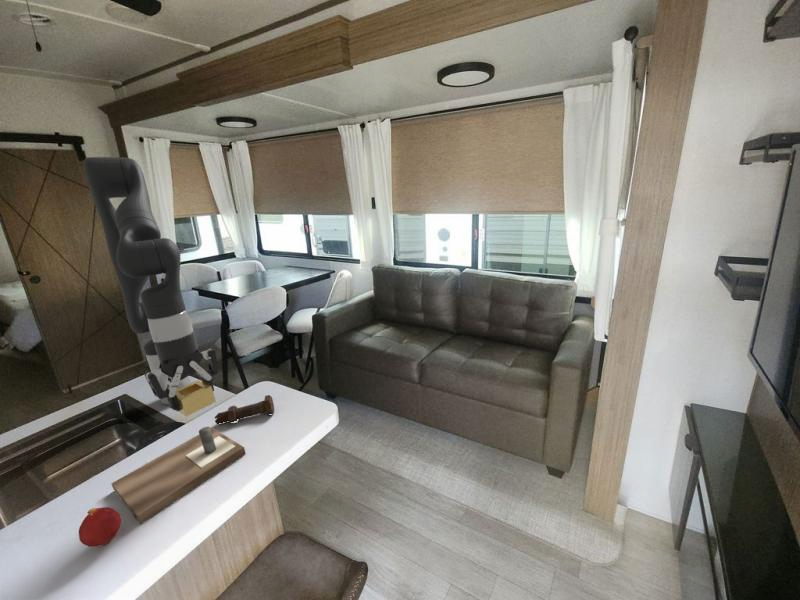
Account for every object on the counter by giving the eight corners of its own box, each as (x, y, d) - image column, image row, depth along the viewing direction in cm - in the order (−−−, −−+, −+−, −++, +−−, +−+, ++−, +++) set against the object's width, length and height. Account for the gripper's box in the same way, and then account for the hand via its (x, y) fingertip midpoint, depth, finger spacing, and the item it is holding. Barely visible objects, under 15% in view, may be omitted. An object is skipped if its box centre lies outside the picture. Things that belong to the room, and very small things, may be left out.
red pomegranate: (106, 529, 67) (91, 495, 65) (134, 527, 67) (120, 493, 65) (78, 558, 62) (61, 523, 60) (109, 557, 61) (93, 521, 59)
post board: (114, 490, 77) (101, 460, 75) (213, 433, 94) (205, 407, 92) (140, 524, 68) (127, 490, 65) (245, 454, 84) (238, 425, 82)
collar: (174, 408, 79) (169, 393, 78) (202, 395, 84) (198, 380, 83) (186, 416, 76) (181, 400, 74) (215, 401, 80) (211, 386, 79)
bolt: (220, 429, 99) (275, 414, 102) (214, 431, 94) (272, 415, 98) (217, 408, 100) (272, 394, 104) (211, 409, 95) (268, 394, 99)
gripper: (199, 320, 83) (217, 383, 87) (127, 343, 72) (152, 414, 76) (214, 324, 78) (232, 390, 83) (140, 349, 67) (165, 424, 72)
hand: (193, 401), depth 80 cm, fingers closed on collar, 6 cm apart
